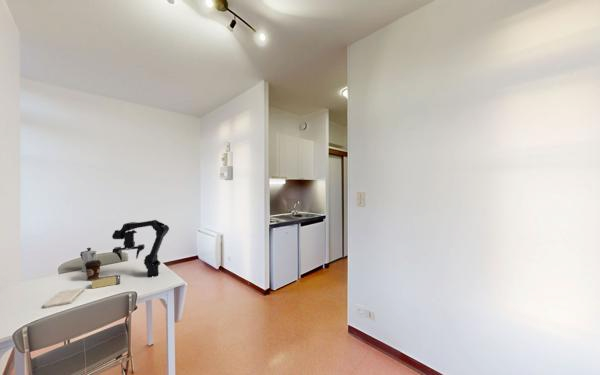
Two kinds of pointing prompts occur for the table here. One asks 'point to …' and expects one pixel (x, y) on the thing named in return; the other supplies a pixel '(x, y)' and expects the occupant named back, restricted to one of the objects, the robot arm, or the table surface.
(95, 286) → the swing leaf
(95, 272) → the brown rounded piece
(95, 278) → the block
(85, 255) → the coffee maker
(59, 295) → the washcloth
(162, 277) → the table surface
